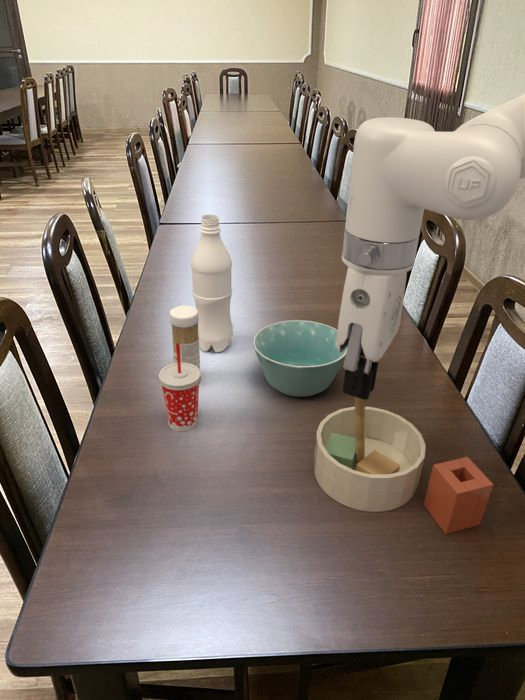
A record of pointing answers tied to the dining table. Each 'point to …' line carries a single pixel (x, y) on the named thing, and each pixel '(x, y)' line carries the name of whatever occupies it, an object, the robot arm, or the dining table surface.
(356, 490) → the stir bowl
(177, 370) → the beverage cup
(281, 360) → the bowl
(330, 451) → the sage block
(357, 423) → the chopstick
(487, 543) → the dining table surface
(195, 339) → the sprinkles bottle
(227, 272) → the water bottle
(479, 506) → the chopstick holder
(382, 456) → the maple block
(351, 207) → the robot arm
